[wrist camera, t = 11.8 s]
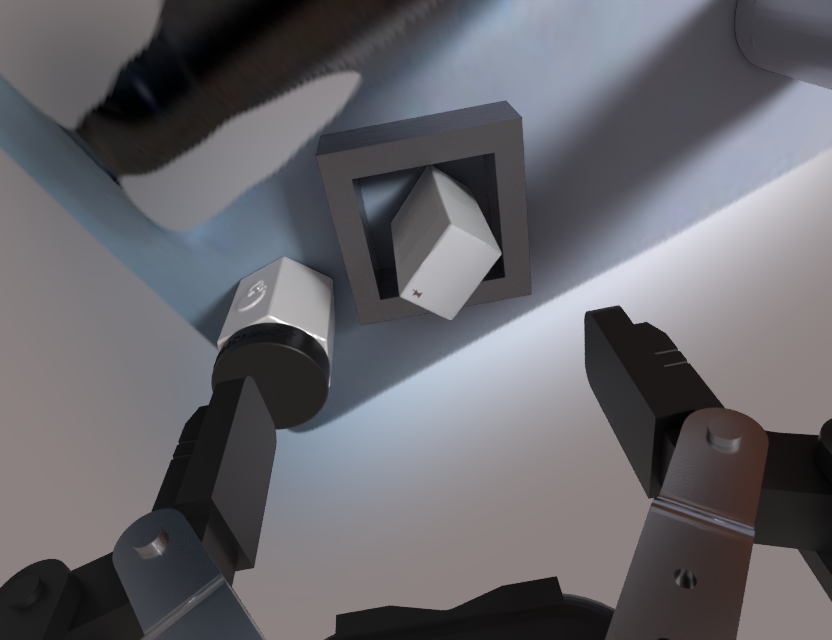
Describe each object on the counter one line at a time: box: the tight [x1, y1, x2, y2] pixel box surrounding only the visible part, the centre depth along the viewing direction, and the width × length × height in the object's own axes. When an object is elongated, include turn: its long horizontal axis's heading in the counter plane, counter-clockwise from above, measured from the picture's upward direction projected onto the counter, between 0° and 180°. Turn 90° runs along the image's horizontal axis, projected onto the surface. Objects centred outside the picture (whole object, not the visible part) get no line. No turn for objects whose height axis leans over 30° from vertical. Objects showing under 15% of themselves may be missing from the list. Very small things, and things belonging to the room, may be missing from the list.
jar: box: [212, 256, 335, 430], centre depth 44 cm, size 9×8×12 cm
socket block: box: [316, 101, 531, 325], centre depth 43 cm, size 14×14×5 cm
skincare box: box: [391, 164, 502, 321], centre depth 40 cm, size 6×4×12 cm
